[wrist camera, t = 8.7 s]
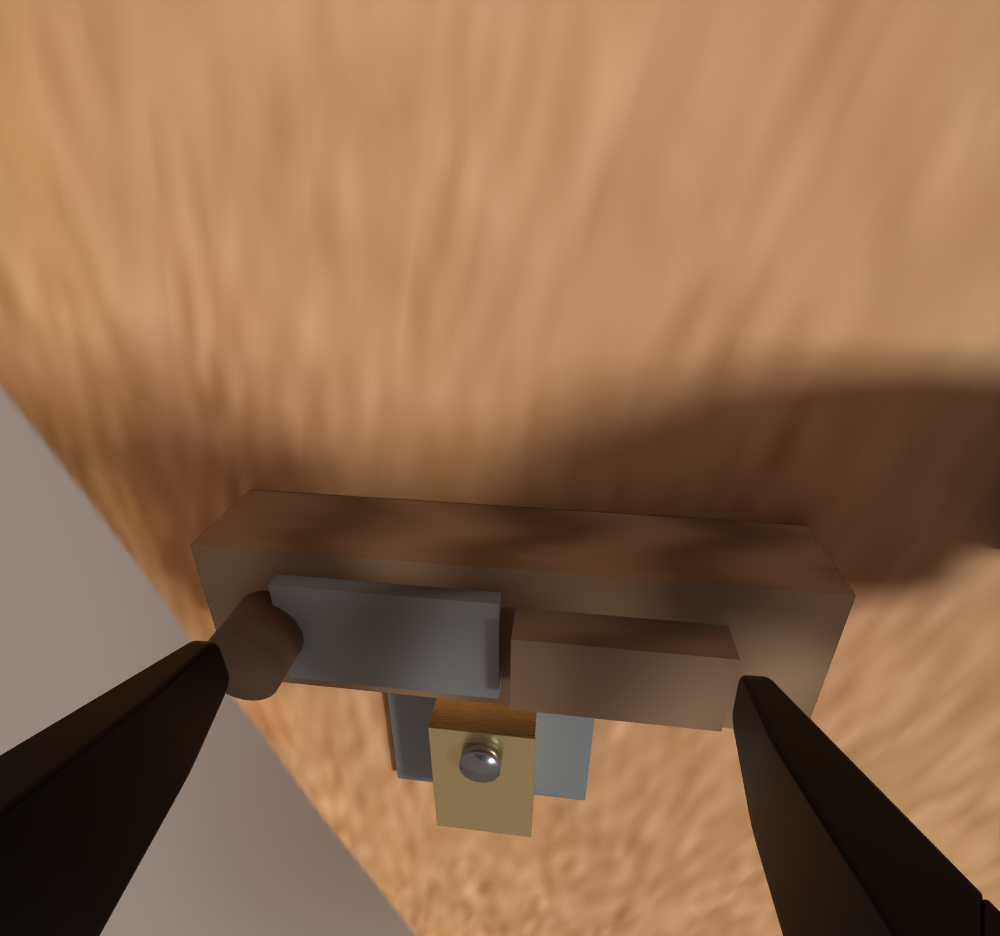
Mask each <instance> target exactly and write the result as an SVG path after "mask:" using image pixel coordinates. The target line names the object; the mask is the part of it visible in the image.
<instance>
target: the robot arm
mask: <svg viewBox="0 0 1000 936" xmlns="http://www.w3.org/2000/svg"><path fill="white" fill-rule="evenodd" d="M228 685H229V673H228V670H227V667H226V664H225V661H224V659H223V656H222V653H221V650H220V648H219V646H218V645H217V644H216V643H215V642H208V641H193V642H190V643H188V644H186V645H185V646H183V647H181V648H180V649H178V650H176V651H175V652H173V653H171V654H170V655H168V656H166V657H165V658H163V659H161V660H160V661H158V662H156V663H154V664H153V665H151V666H150V667H148V668H146V669H144V670H143V671H141V672H139V673H138V674H136V675H134V676H133V677H131V678H130V679H128V680H126V681H124V682H123V683H121V684H119V685H118V686H116V687H115V688H113V689H111V690H109V691H108V692H106V693H104V694H103V695H101V696H99V697H98V698H96V699H94V700H93V701H91V702H89V703H87V704H86V705H84V706H82V707H81V708H79V709H77V710H76V711H74V712H72V713H71V714H69V715H67V716H66V717H64V718H62V719H61V720H59V721H58V722H56V723H54V724H52V725H51V726H49V727H47V728H46V729H44V730H42V731H40V732H39V733H37V734H35V735H34V736H32V737H31V738H29V739H27V740H25V741H24V742H22V743H20V744H19V745H17V746H16V747H14V748H12V749H10V750H9V751H7V752H5V753H4V754H2V755H0V936H100V934H101V932H102V930H103V928H104V926H105V925H106V923H107V921H108V919H109V917H110V916H111V914H112V912H113V910H114V909H115V907H116V905H117V903H118V901H119V900H120V898H121V896H122V894H123V892H124V890H125V889H126V887H127V885H128V883H129V882H130V880H131V878H132V876H133V874H134V873H135V871H136V869H137V867H138V865H139V863H140V861H141V860H142V858H143V856H144V855H145V853H146V851H147V849H148V847H149V846H150V844H151V842H152V840H153V838H154V836H155V835H156V833H157V831H158V829H159V828H160V826H161V824H162V822H163V820H164V819H165V817H166V815H167V813H168V811H169V809H170V808H171V806H172V804H173V803H174V801H175V799H176V797H177V795H178V794H179V791H180V790H181V788H182V786H183V784H184V782H185V781H186V779H187V777H188V775H189V773H190V771H191V769H192V767H193V764H194V762H195V761H196V758H197V756H198V754H199V752H200V749H201V747H202V745H203V743H204V740H205V738H206V736H207V734H208V731H209V729H210V727H211V725H212V722H213V720H214V718H215V716H216V713H217V711H218V709H219V707H220V704H221V702H222V700H223V697H224V695H225V693H226V691H227V688H228ZM732 718H733V728H734V734H735V739H736V745H737V750H738V756H739V761H740V766H741V772H742V777H743V783H744V788H745V794H746V799H747V805H748V810H749V815H750V820H751V825H752V829H753V833H754V837H755V841H756V845H757V848H758V851H759V855H760V858H761V862H762V865H763V869H764V872H765V875H766V879H767V882H768V886H769V889H770V892H771V896H772V899H773V903H774V906H775V910H776V913H777V916H778V920H779V923H780V927H781V930H782V933H783V936H1000V911H999V910H998V909H997V908H996V907H995V906H994V905H993V904H992V903H991V902H990V901H988V900H982V899H983V898H982V894H981V892H980V891H979V890H978V889H977V888H976V887H975V886H974V885H973V884H972V883H971V882H970V881H969V880H968V879H967V878H966V877H965V876H964V875H963V874H962V873H961V872H960V871H959V870H958V869H957V868H956V867H955V866H954V865H953V864H952V863H951V862H950V861H949V860H948V859H947V858H946V857H945V856H944V855H943V854H942V853H941V852H940V851H939V850H938V849H937V847H936V846H935V845H934V844H933V843H932V842H931V841H930V840H929V839H928V838H927V837H926V836H925V835H924V834H923V833H922V832H921V831H920V830H919V829H918V828H917V827H916V826H915V825H914V824H913V823H912V822H911V821H910V820H909V819H908V818H907V817H906V816H905V815H904V814H903V813H902V812H901V811H900V810H899V809H898V808H897V807H896V806H895V805H894V804H893V803H892V802H891V801H890V800H889V799H888V798H887V797H886V796H885V795H884V794H883V792H882V791H881V790H880V789H879V788H878V787H877V786H876V785H875V784H874V783H873V782H872V781H871V780H870V779H869V778H868V777H867V776H866V775H865V774H864V773H863V772H862V771H861V770H860V769H859V768H858V767H857V766H856V765H855V764H854V763H853V762H852V761H851V760H850V759H849V758H848V757H847V756H846V755H845V754H844V753H843V752H842V751H841V750H840V749H839V748H838V747H837V746H836V745H835V744H834V743H833V742H832V741H831V740H830V739H829V737H828V736H827V735H826V734H825V733H824V732H823V731H822V730H821V729H820V728H819V727H818V726H817V725H816V724H815V723H814V722H813V721H812V720H811V719H810V718H809V717H808V716H807V715H806V714H805V713H804V712H803V711H802V710H801V709H800V708H799V707H798V706H797V705H796V704H795V703H794V702H793V701H792V700H791V699H790V698H789V697H788V696H787V695H786V694H785V693H784V692H783V691H782V690H781V689H780V688H779V687H778V686H777V685H776V684H775V682H774V681H772V680H771V679H770V678H768V677H765V676H751V675H744V676H742V677H741V678H740V680H739V682H738V687H737V692H736V697H735V702H734V707H733V714H732Z"/></svg>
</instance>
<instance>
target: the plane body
mask: <svg viewBox="0 0 1000 936" xmlns="http://www.w3.org/2000/svg"><path fill="white" fill-rule="evenodd" d="M190 546H191V549H192V552H193V556H194V559H195V562H196V565H197V569H198V572H199V575H200V579H201V582H202V585H203V589H204V592H205V595H206V599H207V602H208V605H209V608H210V612H211V615H212V618H213V622H214V625H215V628H216V632H215V633H214V635H213V636H212V637H211V638H210V639H209V641H208V642H215V643H216V644H217V645H218V646H219V648H220V650H221V653H222V656H223V659H224V661H225V664H226V667H227V670H228V673H229V685H228V688H227V691H226V694H228V695H230V696H233V697H236V698H239V699H244V700H262V699H266V698H268V697H270V696H272V695H273V694H274V693H275V692H276V691H277V689H278V688H279V686H280V684H281V683H282V682H288V683H298V684H308V685H317V686H327V687H337V688H346V689H356V690H366V691H375V692H385V693H395V694H404V695H414V696H424V697H433V698H443V699H453V700H462V701H472V702H482V703H491V704H501V705H510V710H520V711H530V712H539V713H549V714H558V715H568V716H578V717H587V718H597V719H606V720H616V721H626V722H635V723H645V724H654V725H664V726H674V727H683V728H693V729H702V730H712V731H721V730H722V727H723V728H733V718H732V714H733V707H734V702H735V697H736V692H737V687H738V682H739V680H740V678H741V677H742V676H744V675H751V676H765V677H768V678H770V679H771V680H772V681H774V682H775V684H776V685H777V686H778V687H779V688H780V689H781V690H782V691H783V692H784V693H785V694H786V695H787V696H788V697H789V698H790V699H791V700H792V701H793V702H794V703H795V704H796V705H797V706H798V707H799V708H800V709H801V710H802V711H803V712H804V713H805V714H806V715H807V716H808V717H809V718H811V715H812V712H813V710H814V707H815V704H816V702H817V699H818V696H819V694H820V691H821V688H822V685H823V683H824V680H825V677H826V675H827V672H828V669H829V667H830V664H831V661H832V658H833V656H834V653H835V650H836V648H837V645H838V642H839V640H840V637H841V634H842V631H843V629H844V626H845V623H846V621H847V618H848V615H849V613H850V610H851V607H852V604H853V602H854V599H855V596H856V595H855V594H854V592H853V591H852V589H851V588H850V586H849V585H848V584H847V582H846V581H845V579H844V578H843V576H842V575H841V573H840V572H839V571H838V569H837V568H836V566H835V565H834V563H833V562H832V561H831V559H830V558H829V556H828V555H827V553H826V552H825V551H824V549H823V548H822V546H821V545H820V543H819V542H818V541H817V539H816V538H815V536H814V535H813V533H812V532H811V531H810V529H809V528H808V526H806V525H790V524H774V523H759V522H743V521H727V520H712V519H696V518H681V517H665V516H649V515H634V514H618V513H602V512H587V511H571V510H556V509H540V508H524V507H509V506H493V505H477V504H462V503H446V502H431V501H415V500H399V499H384V498H368V497H352V496H337V495H321V494H306V493H290V492H274V491H259V490H250V491H248V492H247V493H246V494H245V495H244V496H243V497H242V498H241V499H240V500H239V501H237V502H236V503H235V504H234V505H233V506H232V507H231V508H230V509H229V510H228V511H227V512H225V513H224V514H223V515H222V516H221V517H220V518H219V519H218V520H217V521H216V522H214V523H213V524H212V525H211V526H210V527H209V528H208V529H207V530H206V531H205V532H203V533H202V534H201V535H200V536H199V537H198V538H197V539H196V540H195V541H194V542H193V543H191V544H190ZM733 729H734V728H733Z"/></svg>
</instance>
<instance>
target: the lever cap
mask: <svg viewBox="0 0 1000 936" xmlns="http://www.w3.org/2000/svg"><path fill="white" fill-rule="evenodd" d="M428 729H429V740H430V751H431V763H432V774H433V785H434V796H435V807H436V818H437V825H439V826H447V827H455V828H462V829H470V830H478V831H486V832H494V833H502V834H510V835H518V836H526V837H531V830H532V815H533V800H534V785H535V760H536V735H537V712H530V711H520V710H510V705H501V704H491V703H482V702H472V701H462V700H453V699H443V698H436V702H435V705H434V709H433V713H432V716H431V720H430V724H429V727H428Z"/></svg>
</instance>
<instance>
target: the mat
mask: <svg viewBox="0 0 1000 936" xmlns="http://www.w3.org/2000/svg"><path fill="white" fill-rule="evenodd" d="M387 696H388V703H389V711H390V719H391V727H392V735H393V743H394V751H395V758H396V766H397V774H398V778H402V779H410V780H418V781H427V782H433V774H432V763H431V751H430V740H429V729H428V727H429V724H430V720H431V716H432V713H433V709H434V705H435V702H436V698H433V697H424V696H414V695H404V694H395V693H387ZM593 725H594V718H587V717H578V716H568V715H558V714H549V713H539V712H537V735H536V760H535V785H534V794H535V795H543V796H551V797H560V798H568V799H576V800H585V795H586V786H587V777H588V768H589V760H590V751H591V742H592V733H593Z"/></svg>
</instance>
